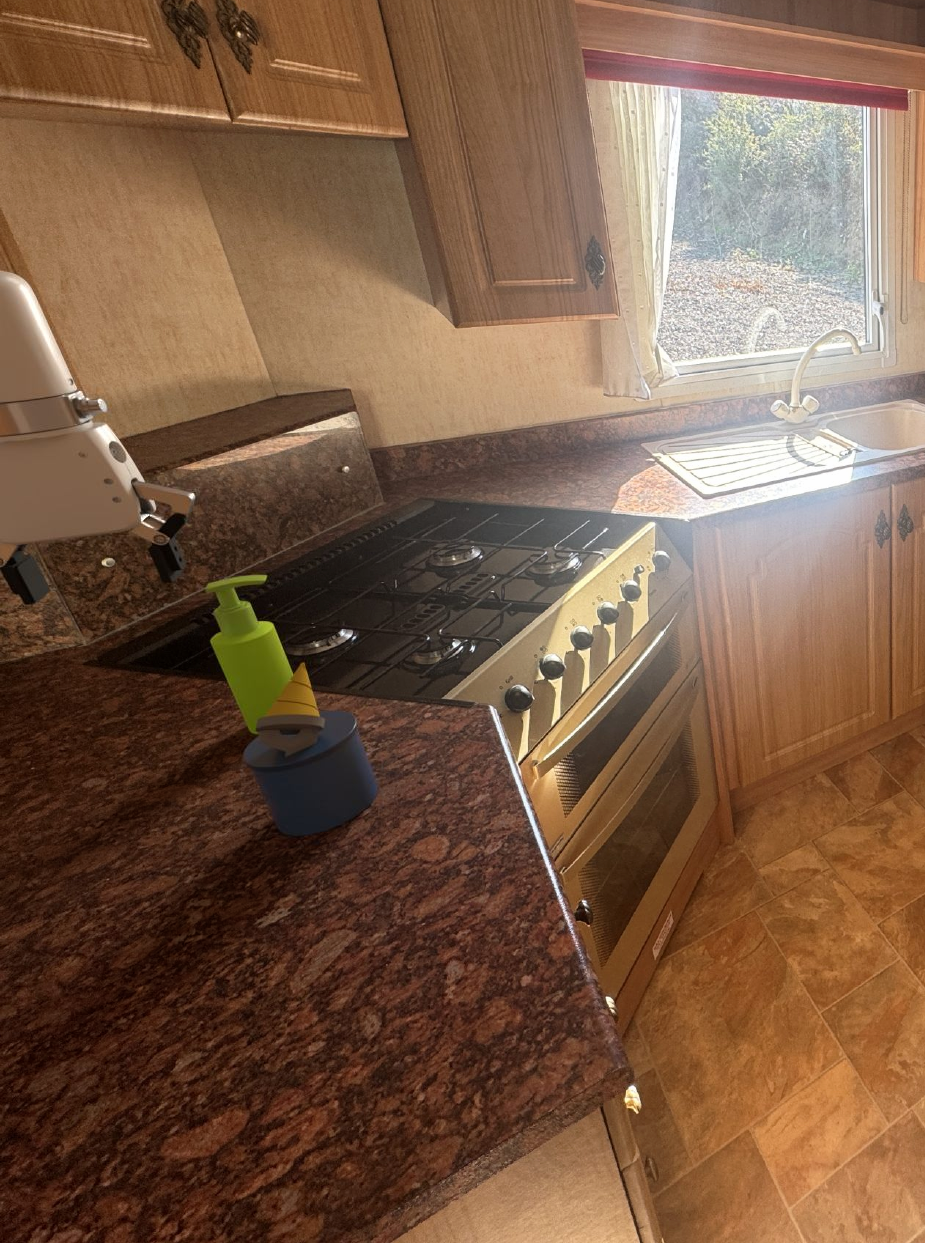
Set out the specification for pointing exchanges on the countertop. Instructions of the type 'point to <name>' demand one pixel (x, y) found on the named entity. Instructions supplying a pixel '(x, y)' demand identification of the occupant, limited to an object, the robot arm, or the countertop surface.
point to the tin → (315, 778)
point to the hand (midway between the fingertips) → (108, 587)
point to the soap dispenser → (248, 651)
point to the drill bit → (292, 717)
